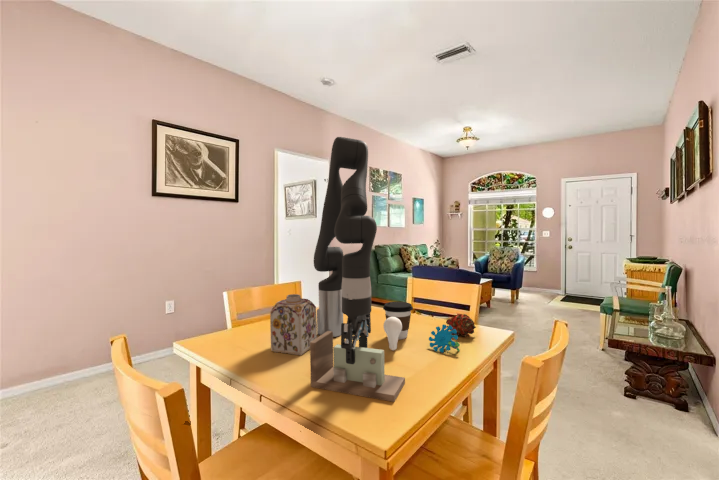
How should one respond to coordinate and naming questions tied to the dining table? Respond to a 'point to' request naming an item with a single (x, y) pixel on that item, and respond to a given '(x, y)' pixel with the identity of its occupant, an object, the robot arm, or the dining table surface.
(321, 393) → the dining table surface
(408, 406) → the dining table surface
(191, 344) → the dining table surface
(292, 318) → the decorative jar
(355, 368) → the door
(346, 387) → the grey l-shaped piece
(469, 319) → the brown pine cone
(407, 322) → the coffee cup
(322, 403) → the dining table surface
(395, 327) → the lightbulb
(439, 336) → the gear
